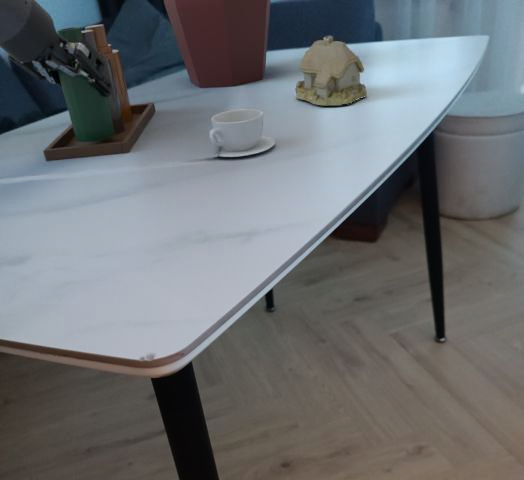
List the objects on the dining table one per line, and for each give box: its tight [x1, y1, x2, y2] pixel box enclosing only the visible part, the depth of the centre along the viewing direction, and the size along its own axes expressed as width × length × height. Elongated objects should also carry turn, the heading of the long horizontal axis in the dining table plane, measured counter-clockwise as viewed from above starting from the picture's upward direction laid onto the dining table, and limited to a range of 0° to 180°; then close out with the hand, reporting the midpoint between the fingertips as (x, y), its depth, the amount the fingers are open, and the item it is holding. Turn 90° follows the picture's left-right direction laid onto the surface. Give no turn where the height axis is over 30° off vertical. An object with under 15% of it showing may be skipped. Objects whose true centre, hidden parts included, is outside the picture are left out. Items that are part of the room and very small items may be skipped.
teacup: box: [208, 108, 276, 158], centre depth 85 cm, size 10×10×5 cm
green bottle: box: [56, 26, 115, 142], centre depth 89 cm, size 6×6×15 cm
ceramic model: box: [294, 35, 367, 106], centre depth 104 cm, size 14×11×10 cm
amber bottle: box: [84, 24, 133, 123], centre depth 101 cm, size 6×6×15 cm
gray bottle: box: [81, 29, 126, 135], centre depth 95 cm, size 6×6×15 cm
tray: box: [42, 102, 156, 162], centre depth 99 cm, size 13×26×2 cm, turn 0°
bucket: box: [163, 0, 271, 89], centre depth 124 cm, size 24×22×25 cm
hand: (92, 91), depth 91 cm, fingers closed on green bottle, 6 cm apart
